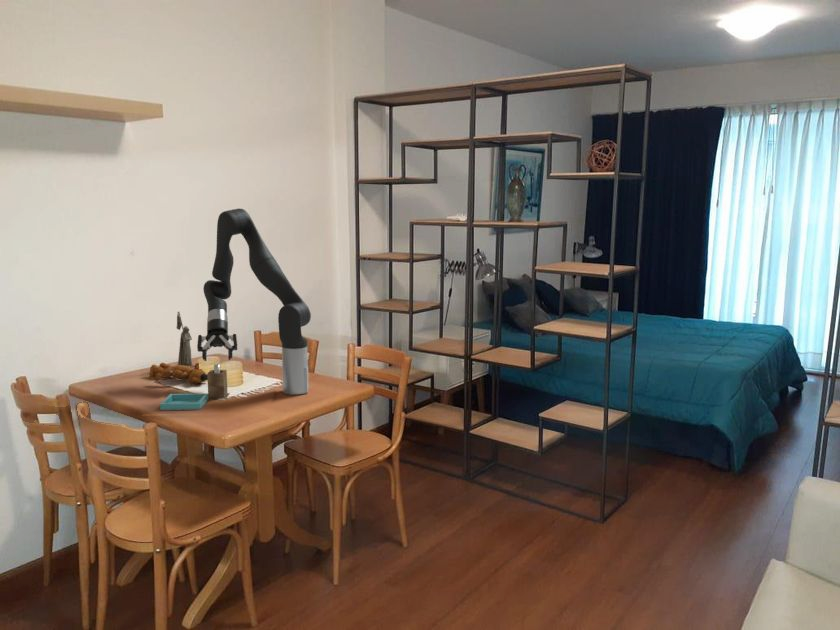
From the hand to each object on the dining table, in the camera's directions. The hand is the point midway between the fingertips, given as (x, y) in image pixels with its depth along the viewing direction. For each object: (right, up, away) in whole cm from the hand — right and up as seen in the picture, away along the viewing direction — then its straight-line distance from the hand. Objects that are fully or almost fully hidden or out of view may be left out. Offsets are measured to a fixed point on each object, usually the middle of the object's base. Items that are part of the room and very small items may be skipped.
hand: (217, 359), depth 241 cm
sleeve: (+2, -13, -6) cm, 14 cm away
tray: (-6, -15, -16) cm, 23 cm away
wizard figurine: (-25, -7, +35) cm, 43 cm away
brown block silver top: (+2, -13, -6) cm, 15 cm away
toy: (-19, -10, +17) cm, 27 cm away
